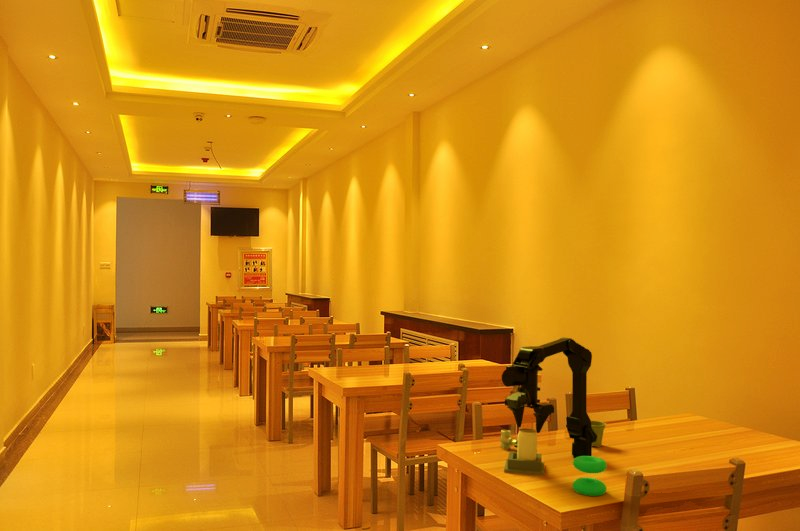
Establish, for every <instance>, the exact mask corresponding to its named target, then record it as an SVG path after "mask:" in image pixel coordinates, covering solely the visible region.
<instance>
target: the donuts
mask: <svg viewBox="0 0 800 531" xmlns="http://www.w3.org/2000/svg"><path fill="white" fill-rule="evenodd" d="M572 464H573V466H574V468H575V470H578V471H579V472H582V473H586V474H600V473H603V472H605V471H606V469H607V467H608V464H607V462H606V460H605V459H603V458H602V457H598V456H593V455H592V456H579V457H576V458H573V461H572ZM571 487H572V489H573V490H574V492H576V493H577V494H580V495H583V496H588V495H589V497H597V496H603V495H604V494H605V493H606V492H607V486H606V484H605V482H603V481H602V480H599V479H598V478H593V477H579V478H576V479H575V480H573V482H572V486H571Z"/></svg>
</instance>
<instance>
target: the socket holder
mask: <svg viewBox="0 0 800 531" xmlns="http://www.w3.org/2000/svg"><path fill="white" fill-rule="evenodd" d="M503 472H504V473H510V474H511V473H512V474H520V473H521V474H523V475H532V474H533V475H536V476H545V462H544V461H542V453H537V460H536V461H534V460H522V459H517V452H516V451H509V452H508V457H507V458H506V460H505V463H504V469H503Z"/></svg>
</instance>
